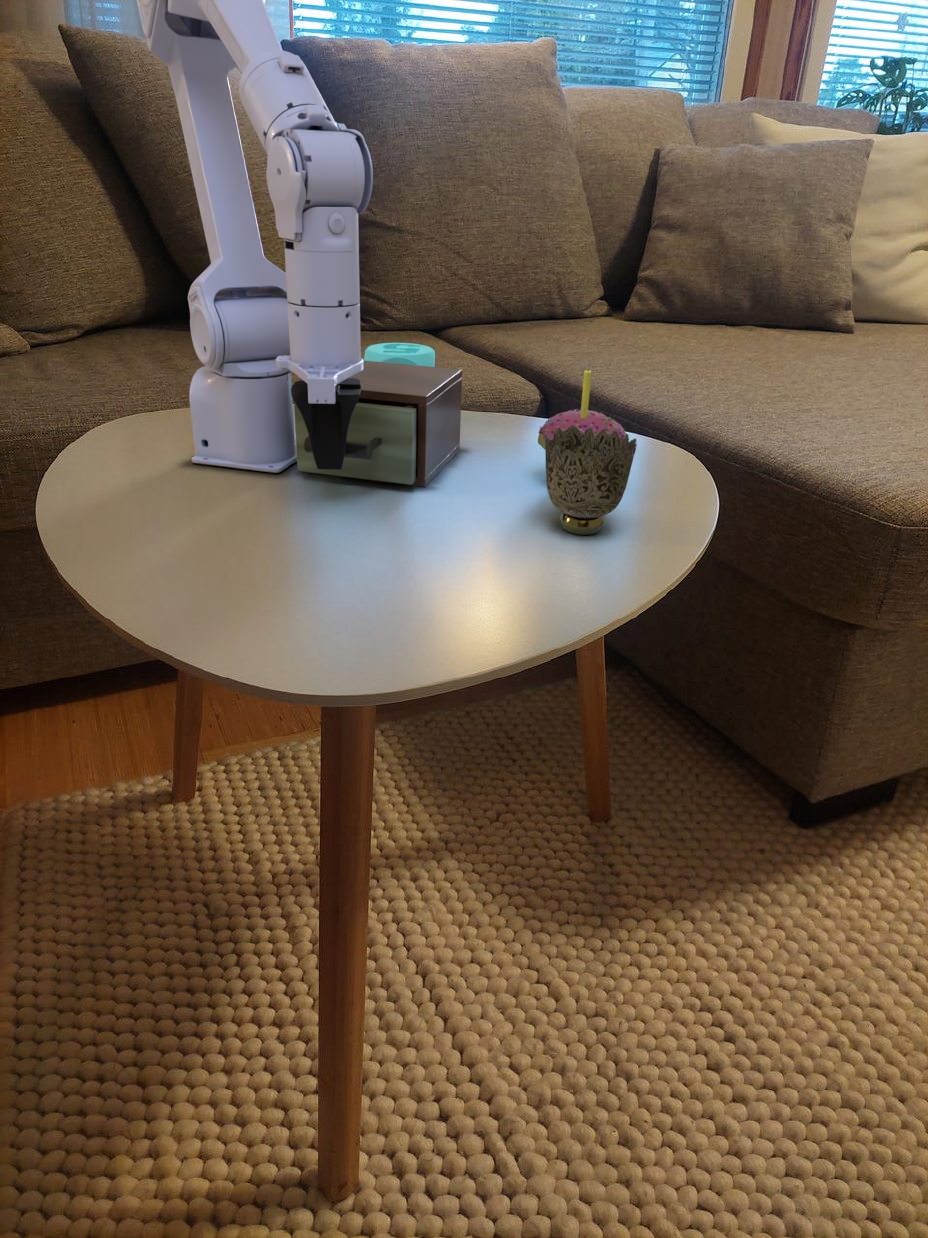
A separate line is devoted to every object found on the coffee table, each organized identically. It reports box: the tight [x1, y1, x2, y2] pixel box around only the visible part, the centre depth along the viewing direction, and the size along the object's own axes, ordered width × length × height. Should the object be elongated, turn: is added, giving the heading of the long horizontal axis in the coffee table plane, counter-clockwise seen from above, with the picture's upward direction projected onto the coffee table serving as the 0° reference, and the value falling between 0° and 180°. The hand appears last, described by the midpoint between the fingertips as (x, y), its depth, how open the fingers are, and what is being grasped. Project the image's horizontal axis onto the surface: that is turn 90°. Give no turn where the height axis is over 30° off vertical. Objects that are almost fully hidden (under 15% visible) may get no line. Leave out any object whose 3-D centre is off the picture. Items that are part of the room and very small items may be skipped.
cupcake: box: [537, 361, 628, 450], centre depth 83 cm, size 9×8×12 cm
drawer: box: [293, 398, 419, 486], centre depth 83 cm, size 16×11×7 cm
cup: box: [544, 425, 638, 536], centre depth 73 cm, size 8×7×8 cm
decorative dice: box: [363, 342, 436, 367], centre depth 103 cm, size 8×8×8 cm
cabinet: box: [301, 359, 463, 488], centre depth 88 cm, size 13×13×9 cm
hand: (329, 467), depth 76 cm, fingers closed
